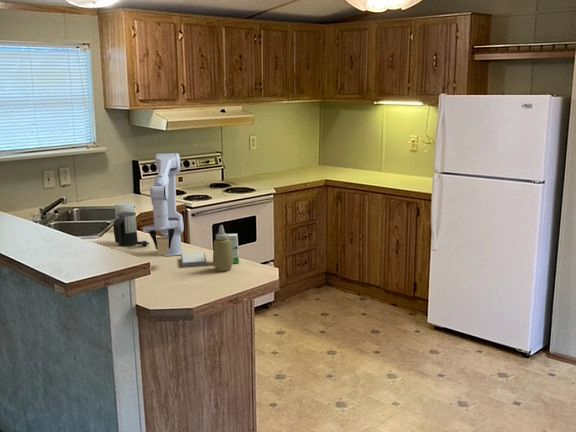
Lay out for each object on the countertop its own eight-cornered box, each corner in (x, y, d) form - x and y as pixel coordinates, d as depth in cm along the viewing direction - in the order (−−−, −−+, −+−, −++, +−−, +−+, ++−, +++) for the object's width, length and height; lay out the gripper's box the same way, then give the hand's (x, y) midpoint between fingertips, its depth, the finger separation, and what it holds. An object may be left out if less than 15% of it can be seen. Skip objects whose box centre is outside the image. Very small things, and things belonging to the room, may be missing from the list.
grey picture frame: (181, 258, 267) (180, 254, 267) (204, 257, 269) (204, 252, 269) (182, 267, 254) (181, 262, 254) (206, 265, 256) (206, 260, 255)
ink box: (239, 260, 262) (237, 232, 260) (238, 263, 257) (237, 235, 255) (218, 261, 262) (216, 233, 259) (217, 264, 257) (215, 236, 255)
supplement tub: (114, 231, 326) (111, 203, 323) (131, 228, 332) (129, 201, 329) (121, 234, 319) (119, 205, 316) (138, 231, 324) (136, 203, 321)
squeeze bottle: (209, 271, 247) (207, 227, 243) (218, 266, 254) (216, 222, 251) (228, 273, 244) (226, 228, 241) (237, 267, 252) (234, 223, 248)
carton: (157, 251, 257) (156, 236, 256) (169, 250, 258) (168, 236, 257) (157, 255, 251) (156, 240, 249) (169, 254, 251) (168, 239, 250)
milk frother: (121, 242, 302) (119, 211, 299) (154, 241, 301) (152, 211, 298) (112, 249, 288) (110, 217, 285) (146, 248, 287) (144, 217, 284)
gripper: (142, 218, 246) (144, 252, 249) (179, 216, 249) (181, 249, 252) (142, 215, 253) (145, 247, 256) (178, 212, 256) (181, 245, 258)
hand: (163, 248), depth 254 cm, fingers closed on carton, 4 cm apart
